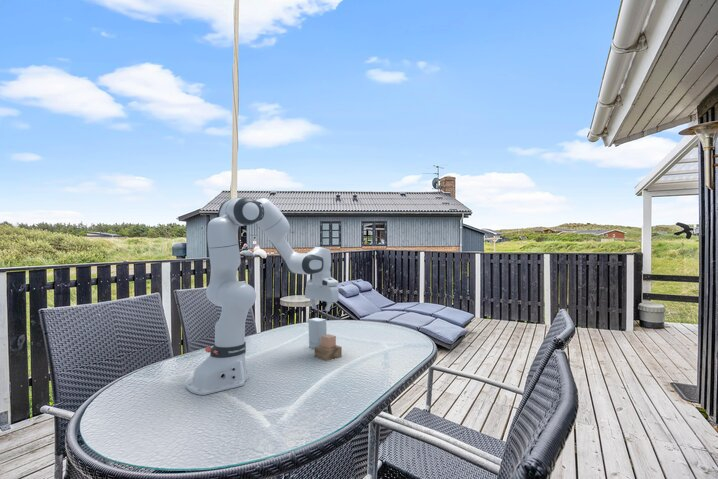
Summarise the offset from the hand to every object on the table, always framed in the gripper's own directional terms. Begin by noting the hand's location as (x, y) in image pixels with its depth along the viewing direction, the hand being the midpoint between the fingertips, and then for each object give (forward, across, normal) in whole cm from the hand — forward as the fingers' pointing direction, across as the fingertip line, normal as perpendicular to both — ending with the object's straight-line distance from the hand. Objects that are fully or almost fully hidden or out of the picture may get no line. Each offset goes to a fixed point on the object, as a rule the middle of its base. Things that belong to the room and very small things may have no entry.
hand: (320, 309), depth 171 cm
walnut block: (+22, +3, +3) cm, 23 cm away
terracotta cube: (+17, +3, +3) cm, 18 cm away
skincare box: (+22, -11, +9) cm, 26 cm away
